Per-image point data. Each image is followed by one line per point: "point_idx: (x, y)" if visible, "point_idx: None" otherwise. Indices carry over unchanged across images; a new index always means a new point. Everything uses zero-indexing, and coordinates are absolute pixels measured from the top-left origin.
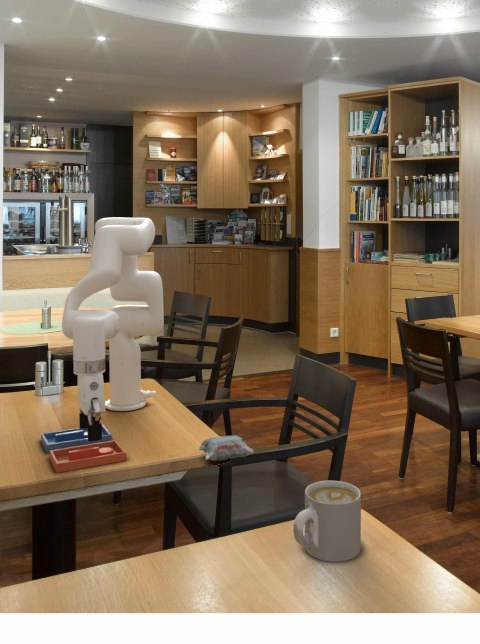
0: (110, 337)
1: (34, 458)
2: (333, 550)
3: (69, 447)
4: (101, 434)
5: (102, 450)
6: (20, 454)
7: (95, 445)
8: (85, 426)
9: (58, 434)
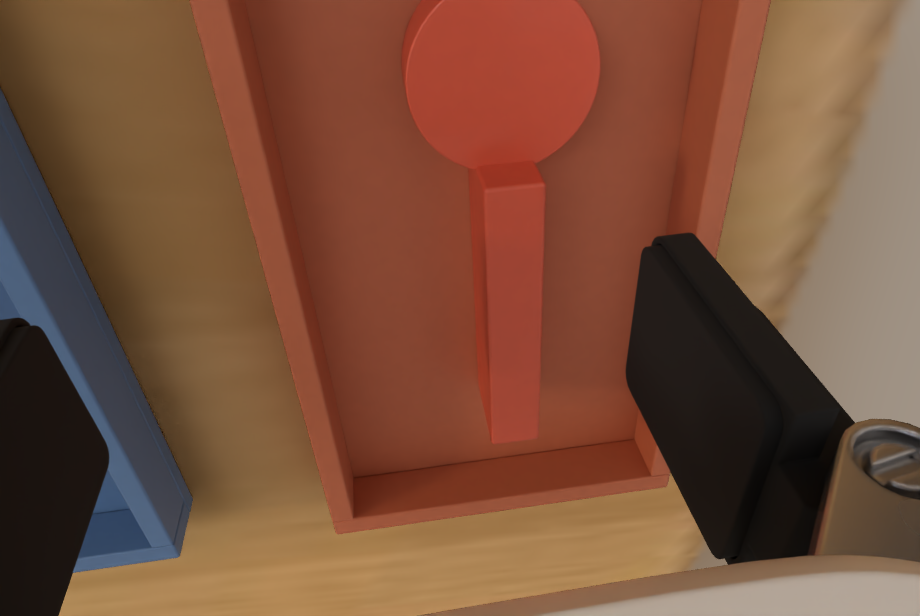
0: None
1: (292, 548)
2: None
3: (124, 376)
4: (724, 275)
5: (504, 116)
6: (182, 610)
7: (271, 174)
8: (78, 425)
9: None
